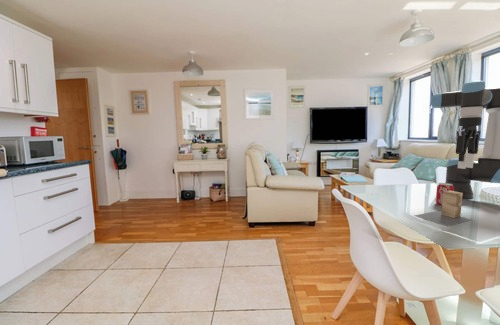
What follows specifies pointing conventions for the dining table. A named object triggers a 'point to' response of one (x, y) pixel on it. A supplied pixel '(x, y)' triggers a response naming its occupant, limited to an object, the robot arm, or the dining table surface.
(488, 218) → the dining table surface
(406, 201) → the dining table surface
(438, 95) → the robot arm
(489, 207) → the dining table surface
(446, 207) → the oak block
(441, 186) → the soda can
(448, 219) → the mat
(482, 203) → the dining table surface
